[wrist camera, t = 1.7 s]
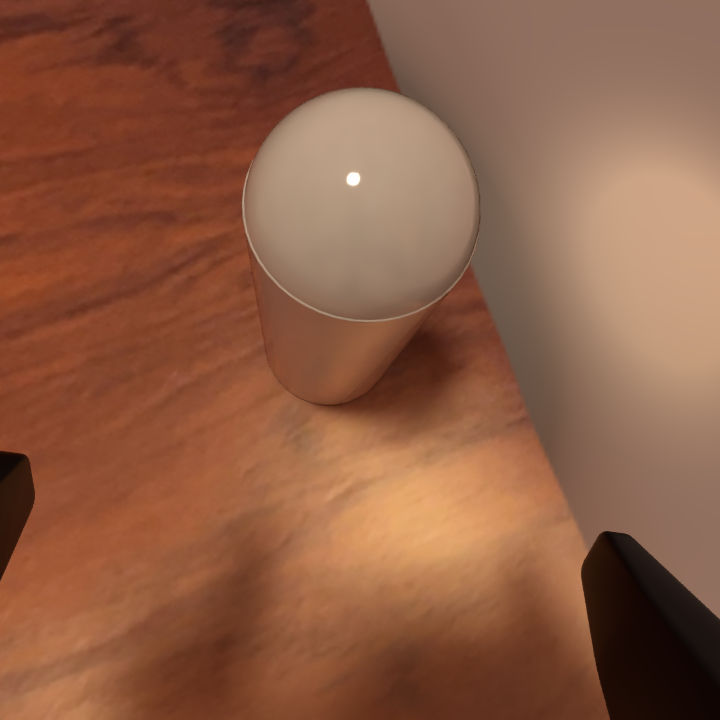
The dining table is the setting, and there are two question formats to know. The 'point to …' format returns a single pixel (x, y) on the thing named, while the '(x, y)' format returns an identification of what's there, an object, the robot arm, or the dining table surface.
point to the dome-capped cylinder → (354, 235)
